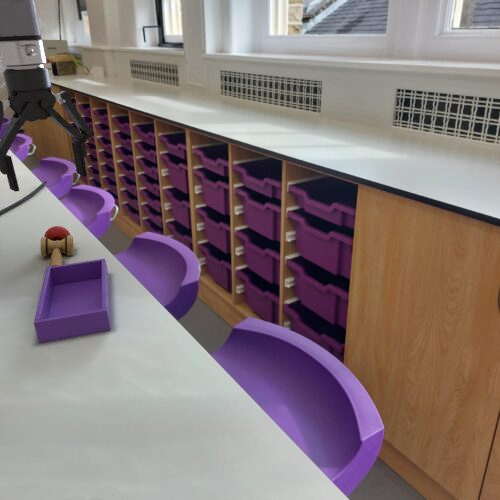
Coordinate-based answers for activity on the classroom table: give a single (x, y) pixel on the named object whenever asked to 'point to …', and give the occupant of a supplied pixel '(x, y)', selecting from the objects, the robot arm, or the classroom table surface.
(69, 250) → the kendama
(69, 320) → the tote
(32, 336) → the classroom table surface
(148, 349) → the classroom table surface
